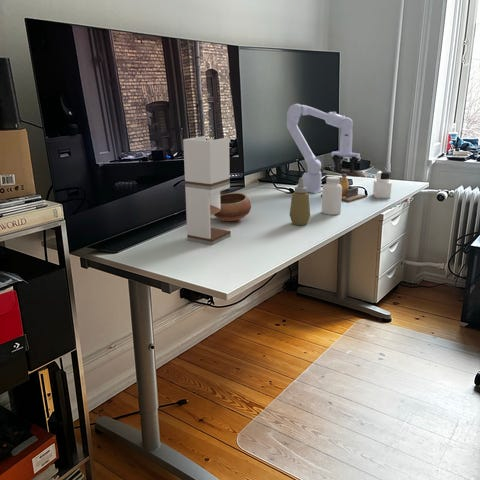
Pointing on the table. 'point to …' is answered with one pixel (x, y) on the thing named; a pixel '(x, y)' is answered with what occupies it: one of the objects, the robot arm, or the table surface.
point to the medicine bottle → (382, 185)
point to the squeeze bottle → (300, 205)
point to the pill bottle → (331, 196)
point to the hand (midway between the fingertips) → (344, 171)
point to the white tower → (205, 186)
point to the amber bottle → (344, 184)
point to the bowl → (233, 207)
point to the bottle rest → (352, 195)
